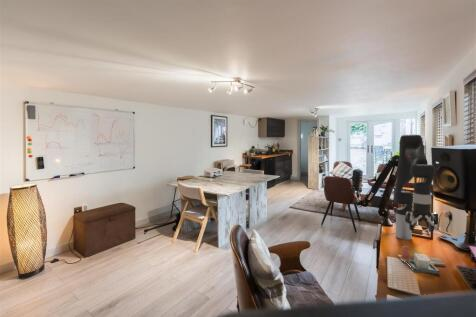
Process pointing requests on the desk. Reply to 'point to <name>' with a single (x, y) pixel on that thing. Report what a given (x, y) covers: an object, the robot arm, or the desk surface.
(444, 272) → the desk surface
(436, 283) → the desk surface
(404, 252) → the pawn
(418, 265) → the die
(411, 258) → the board
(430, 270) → the tray
